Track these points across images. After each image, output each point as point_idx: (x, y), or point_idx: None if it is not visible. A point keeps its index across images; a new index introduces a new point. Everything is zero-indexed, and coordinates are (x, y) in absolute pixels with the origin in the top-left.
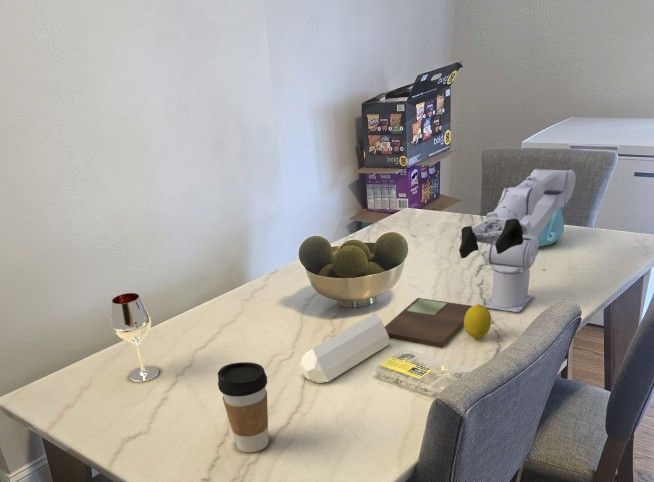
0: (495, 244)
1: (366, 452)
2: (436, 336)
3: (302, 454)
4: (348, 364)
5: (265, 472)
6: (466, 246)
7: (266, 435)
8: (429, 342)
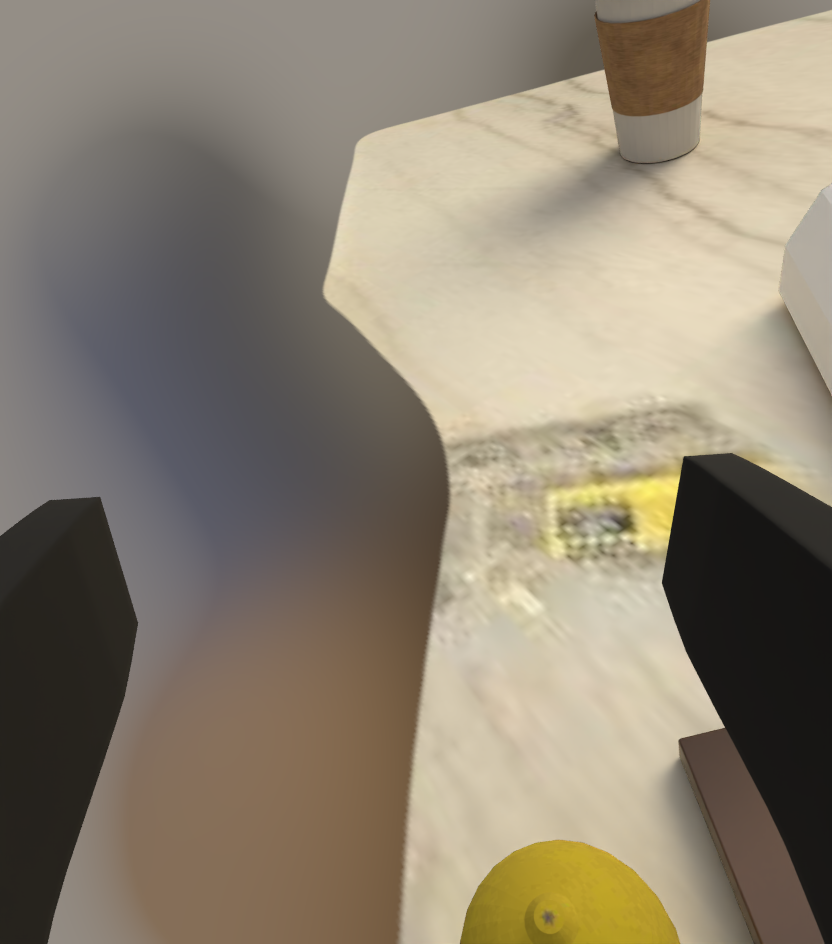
0: (92, 499)
1: (424, 258)
2: None
3: (536, 191)
4: (818, 343)
5: (549, 148)
6: (768, 618)
7: (620, 132)
8: None
